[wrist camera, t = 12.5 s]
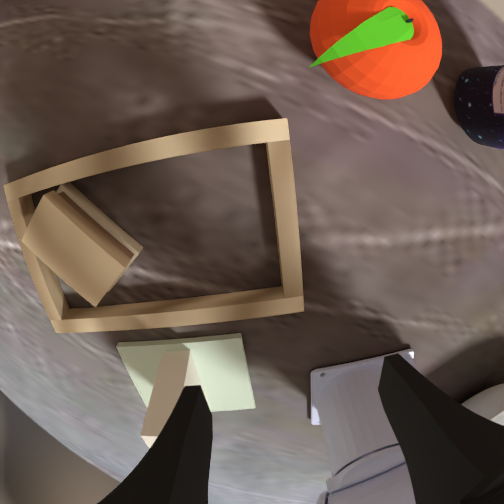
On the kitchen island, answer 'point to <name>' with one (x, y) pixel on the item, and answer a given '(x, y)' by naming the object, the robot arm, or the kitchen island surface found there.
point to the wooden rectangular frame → (183, 309)
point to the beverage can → (482, 104)
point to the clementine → (376, 45)
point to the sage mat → (207, 363)
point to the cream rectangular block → (168, 390)
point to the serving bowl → (488, 404)
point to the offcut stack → (79, 242)
